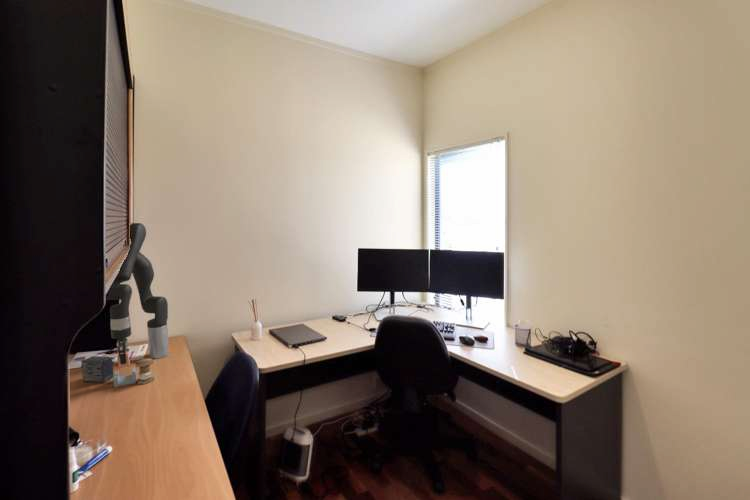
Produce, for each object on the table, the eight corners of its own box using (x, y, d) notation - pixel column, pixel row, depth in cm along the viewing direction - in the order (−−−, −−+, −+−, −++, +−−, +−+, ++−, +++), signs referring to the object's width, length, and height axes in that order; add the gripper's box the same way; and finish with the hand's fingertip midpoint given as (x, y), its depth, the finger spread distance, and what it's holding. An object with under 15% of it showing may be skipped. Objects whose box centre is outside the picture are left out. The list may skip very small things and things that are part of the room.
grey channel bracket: (115, 380, 170) (114, 371, 169) (136, 375, 174) (136, 367, 174) (114, 387, 163) (113, 378, 163) (136, 382, 167) (135, 373, 167)
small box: (114, 376, 173) (112, 356, 172) (103, 383, 167) (101, 362, 165) (94, 375, 174) (92, 355, 173) (82, 382, 168) (80, 361, 166)
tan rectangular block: (119, 365, 168) (117, 353, 167) (129, 363, 170) (128, 351, 169) (119, 368, 165) (117, 355, 164) (129, 365, 167) (127, 353, 167)
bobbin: (137, 379, 171) (135, 360, 169) (154, 375, 174) (153, 357, 173) (136, 385, 165) (135, 366, 163) (154, 381, 168) (153, 362, 167)
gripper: (112, 323, 169) (115, 358, 171) (109, 332, 157) (112, 370, 159) (131, 321, 173) (134, 355, 175) (129, 329, 161) (132, 366, 163)
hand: (123, 362), depth 167 cm, fingers closed on tan rectangular block, 2 cm apart
